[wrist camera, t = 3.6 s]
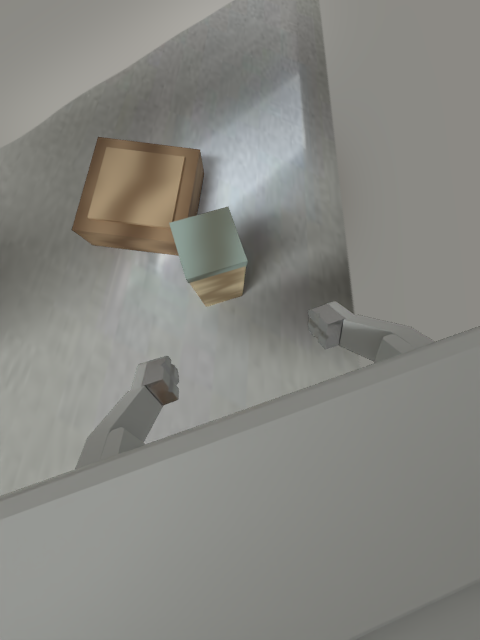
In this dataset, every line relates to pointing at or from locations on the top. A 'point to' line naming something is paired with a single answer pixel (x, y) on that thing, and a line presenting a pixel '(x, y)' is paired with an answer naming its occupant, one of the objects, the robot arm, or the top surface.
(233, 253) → the tan tall block
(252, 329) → the top surface
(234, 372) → the top surface
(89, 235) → the base slab
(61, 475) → the robot arm
